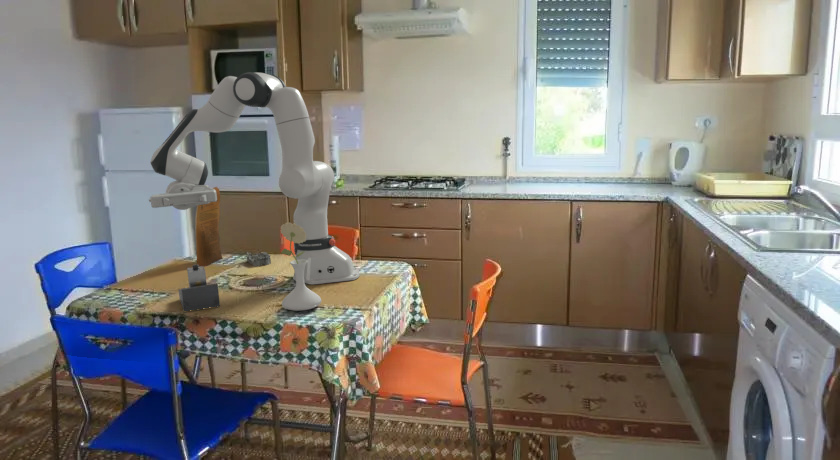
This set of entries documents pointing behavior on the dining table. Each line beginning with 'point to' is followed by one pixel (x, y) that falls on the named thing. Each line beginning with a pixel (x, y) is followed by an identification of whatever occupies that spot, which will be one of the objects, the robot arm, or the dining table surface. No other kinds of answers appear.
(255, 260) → the grey building model
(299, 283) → the flower in vase
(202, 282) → the block
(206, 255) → the pancake mix bag
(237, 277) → the dining table surface
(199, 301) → the block
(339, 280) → the robot arm
